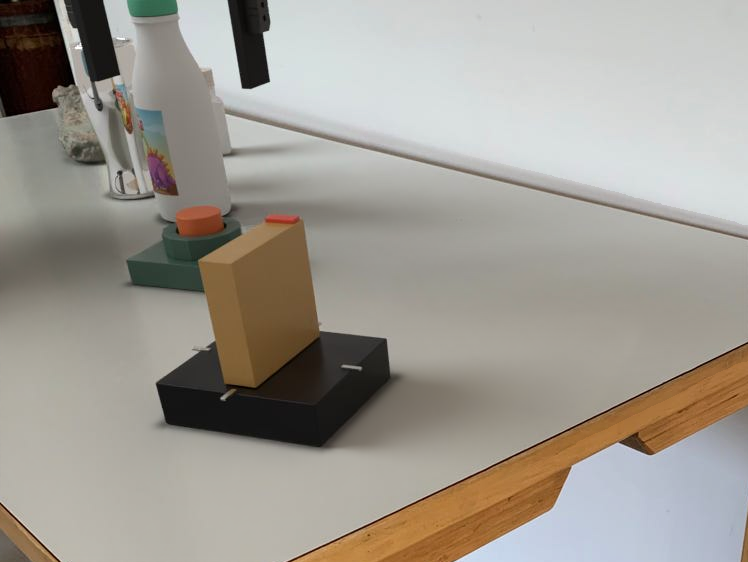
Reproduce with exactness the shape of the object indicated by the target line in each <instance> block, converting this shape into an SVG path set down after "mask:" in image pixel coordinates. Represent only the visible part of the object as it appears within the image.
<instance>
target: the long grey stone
mask: <svg viewBox="0 0 748 562" xmlns="http://www.w3.org/2000/svg"><path fill="white" fill-rule="evenodd" d="M51 95H52V101H53V103H56V105H57V108H58V115H59V118H60V121H61V122H60V128H59V130H58V132H59V136H58V141H59V142H60V143H61V146H62V148H63V150H65V151H66V154H67V156H68V157H69V158H72V159H73V160H76V161H78V162H86V163H87V162H88V163H89V162H93V163H95V162H106V160H105V157H104V154H103V151H102V149H101V146H100V144H99V142H98V139H97V137H96V135H95V132H94V130H93V128H92V125H91V123H90V121H89V118H88V116H87V113H86V110H85V108H84V105H83V102H82V99H81V95H80V92H79V88H78V85H75V84H70V85H68V86H67V87H64V86H63V85H57V87H56V88H54V89H53V91H52V93H51Z"/></svg>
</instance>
